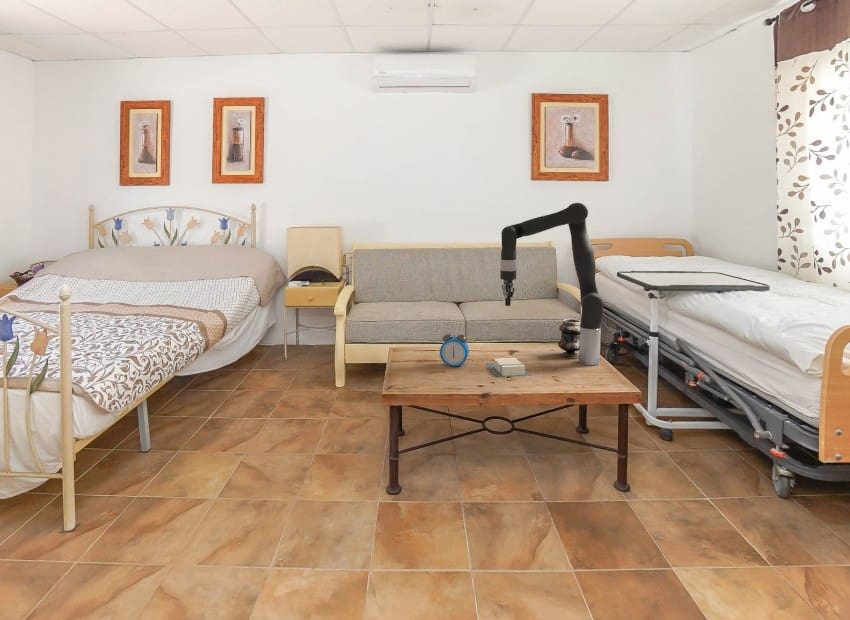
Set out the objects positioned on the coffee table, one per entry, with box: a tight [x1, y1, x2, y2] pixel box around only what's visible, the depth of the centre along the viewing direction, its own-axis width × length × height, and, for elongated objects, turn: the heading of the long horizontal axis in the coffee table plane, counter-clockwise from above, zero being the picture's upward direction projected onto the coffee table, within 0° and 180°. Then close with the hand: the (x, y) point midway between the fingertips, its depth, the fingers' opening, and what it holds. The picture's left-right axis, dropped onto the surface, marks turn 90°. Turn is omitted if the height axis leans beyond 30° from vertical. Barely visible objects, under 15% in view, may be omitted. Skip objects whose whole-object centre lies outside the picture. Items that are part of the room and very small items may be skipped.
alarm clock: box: [439, 333, 470, 368], centre depth 246 cm, size 13×6×15 cm, turn 77°
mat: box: [483, 362, 532, 378], centre depth 240 cm, size 22×16×1 cm
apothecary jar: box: [557, 318, 581, 359], centre depth 261 cm, size 12×12×18 cm
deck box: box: [493, 357, 526, 377], centre depth 236 cm, size 4×10×14 cm
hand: (507, 305), depth 250 cm, fingers closed
